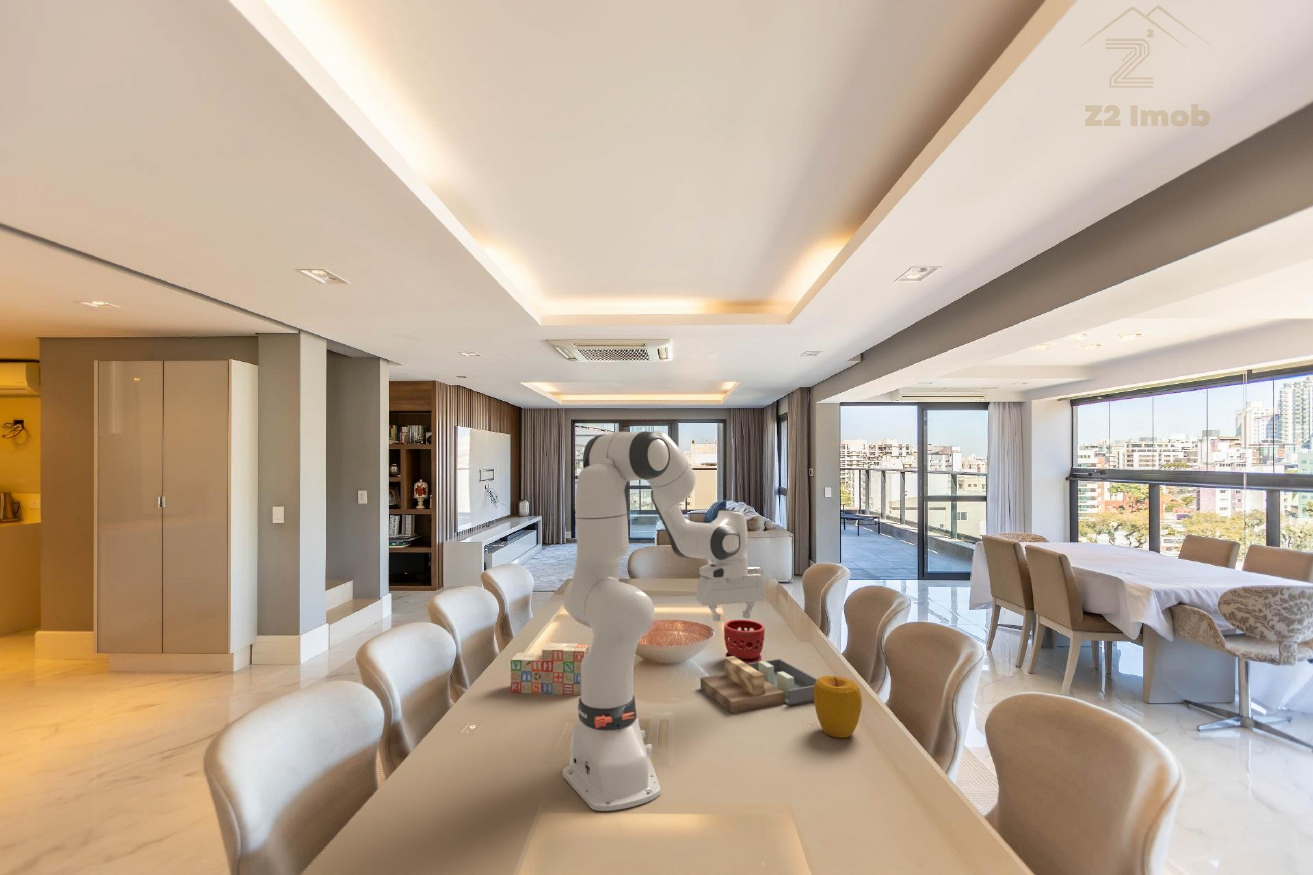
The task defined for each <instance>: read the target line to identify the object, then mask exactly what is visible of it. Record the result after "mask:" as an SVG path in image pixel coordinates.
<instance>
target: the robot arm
mask: <svg viewBox="0 0 1313 875" xmlns="http://www.w3.org/2000/svg"><path fill="white" fill-rule="evenodd" d="M582 468H583V469H582V470H580V472H579V474H578V476H577V482H576V489H575V506H574V507H575V508H574V509H575V527H576V547H577V548H576V559H575V560H576V561H575V566H574V571H573V576H572V579H571V580H570V581H569V582H568V584H567V586H566V587H565V590H564V592H563V599H562V600H563V601H562V602H563V606H564V609H565V610H566V612H567V613H568V614H569V615H570V616H571V617H572V618H573V619H574V621H576V622H577V623H578V624H580V625H583V626H584V627H587V628H590V629H591V630H592V634H593V637H592V643H591V646H590V648H589V649H590V650H589V653H588V654H586V655H585V657H584V658H583V660H582V662H581V695H580V696H579V698H578V706H577V711H578V722H577V724H575V726H574V728H572V730H571V736H570V737H571V738H570V753H569V754H570V755H569V756H570V757H569V764H567V765H566V766H565V767H563V769H562V777H563V779H565V781H566V782H568V784H569V785H570V786H571V788H573V790H574V791H575V792H576V793H577V794H578V795H579V796H580V797H581V799H582V800H583V801H584V802H585V803H586V804H587V806H588V807H590V809H592V810H594V811H600V812H606V811H607V812H610V811H618V810H624V809H628V808H632V807H633V808H634V807H636V806H639V805H642V804H645V803H648V802H650V801H653V800H654V799H657V798H658V797H659V796H660V795H661V793H662V790H661V789H662V788H661V786H660V783H659V779H658V777H657V774H656V771H655V768H654V765H653V761H652V759H651V757H653V754H654V751H653V750H654V749H653V744H651V743H648V744H645V741H644V738H645V739H646V731H645V730H642V729H641V728H640V727H641V726H640V723H639V721H640V720H639V718H638V717H637V716H638V715H637V704H636V699H635V695H634V692H633V690H634V687H633V686H634V660H635V654H636V650H637V647H638V645H639V643H640V640H641V638H643V637H644V636H645V635H646V634H648V632H649V631H650V630H651V627H652V626H653V622H654V621H655V620H654V619H655V606H654V602H653V601H652V599H651V597H650V596H649V595H648V594H646V593H645V592H644V591H643V590H641V589H640V588H639V587H637V586H635V585H632V584H629V583H626V582H622V581H619V568H620V564H621V562H622V558H624V557H625V556H626V554H627V553H628V552H629V547H630V543H629V542H630V540H629V524H628V510H627V499H626V493H625V490H626V485H627V483H628V482H630V481H631V482H632V481H640V480H645V481H647V483H648V484H649V486H650V488H651V493H650V496H651V500H652V504H653V507H654V509H655V511H656V513H657V514H658V517H659V519H660V522H661V523H662V525H663V526H664V529H665V531H666V533H667V536H668V540H669V544H670V547H671V549H672V550H673V553H674V554H675V555H677V556H678V557H680V558H686V559H687V558H689V559H691V558H693V559H694V558H695V559H701V560H709V561H712V562H710V563H708V564H706V565H703V566H700V568H699V570H698V572H699V575H700V577H699V578H698V580H697V584H696V601H697V602H698V604H699V605H701V606H705V607H708V609H709V610H710V612H711V614H712V620H713V622H721V614H720V613H718V612H717V609H718V605H719V606H720V605H731V604H741V603H745V605H746V607H745V610H742V618H743V619H750V618H751V612H752V610H753V608H754V606H755V602H763V601H765V599H766V598H767V597H766V595H767V594H766V585H765V584H766V583H765V571H764V570H763V569H762V568H760V567H759V566H755V567H748V566H749V565H748V564H749V562H748V560H749V558H748V553H747V546H748V544H749V543H748V541H749V540H748V536H749V535H748V525H747V524H748V523H747V518H746V515H745V514H744V513H743V512H742V511H740V510H732V509H721V510H718V512H717V516H716V518H714V520H712V521H711V522H697V521H692V520H689V519H687V518H685V516H684V514H683V512H682V510H681V508H680V506H679V504H681V503H682V502H684V501H685V500H686V499H687V498H688V497H689V496H690V495H691V493H692V492H693V490H694V489H695V485H696V474H695V472H694V470H693V467H692V465H691V464H690V462H689V461H688V459H687V458H686V456H685V455H684V453H683V452H682V450H681V449H680V448H679V446H678V445H677V444H676V443H675V442H674V441H673V439H672V438H671V437H670V436H669V435H668V434H666V432H663V431H661V430H654V431H646V430H645V431H640V432H639V431H629V432H628V431H617V432H612V433H602V434H599V435H596V436H594V437H592V438H591V439H589V440H588V441H587V443H586V444H585V447H584V450H583V454H582Z"/></svg>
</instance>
